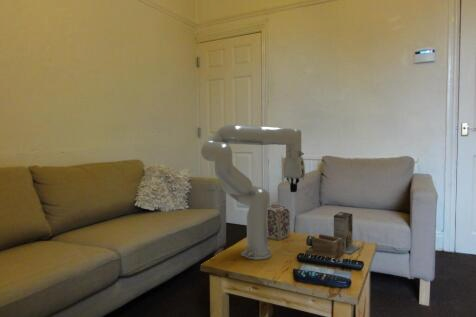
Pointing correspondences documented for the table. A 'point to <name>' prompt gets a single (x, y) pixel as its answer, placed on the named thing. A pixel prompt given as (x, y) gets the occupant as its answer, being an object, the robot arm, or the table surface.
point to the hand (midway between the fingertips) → (293, 191)
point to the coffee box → (343, 228)
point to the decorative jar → (278, 222)
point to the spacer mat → (351, 249)
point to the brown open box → (326, 246)
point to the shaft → (309, 241)
